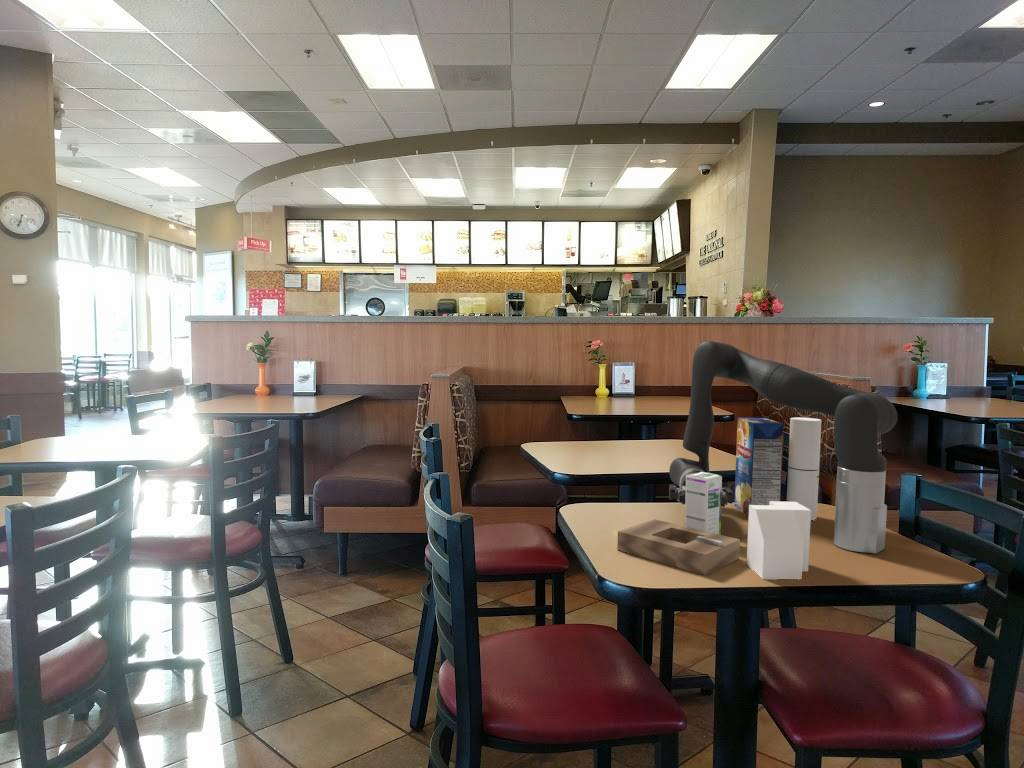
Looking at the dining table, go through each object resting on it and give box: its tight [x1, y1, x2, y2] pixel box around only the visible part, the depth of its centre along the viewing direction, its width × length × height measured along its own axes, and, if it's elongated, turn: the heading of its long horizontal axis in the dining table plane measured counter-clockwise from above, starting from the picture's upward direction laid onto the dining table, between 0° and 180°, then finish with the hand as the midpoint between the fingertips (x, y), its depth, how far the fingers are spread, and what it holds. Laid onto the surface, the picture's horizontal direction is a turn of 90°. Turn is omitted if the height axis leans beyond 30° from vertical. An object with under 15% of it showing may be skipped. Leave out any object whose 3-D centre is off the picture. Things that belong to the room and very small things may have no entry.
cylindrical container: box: [786, 417, 822, 521], centre depth 165 cm, size 7×7×25 cm
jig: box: [616, 519, 741, 576], centre depth 134 cm, size 20×14×5 cm
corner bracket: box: [746, 500, 812, 581], centre depth 126 cm, size 11×11×12 cm
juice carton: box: [733, 417, 785, 518], centre depth 169 cm, size 12×8×24 cm, turn 0°
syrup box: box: [684, 472, 723, 535], centre depth 145 cm, size 6×6×14 cm
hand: (703, 501), depth 145 cm, fingers open, 8 cm apart
